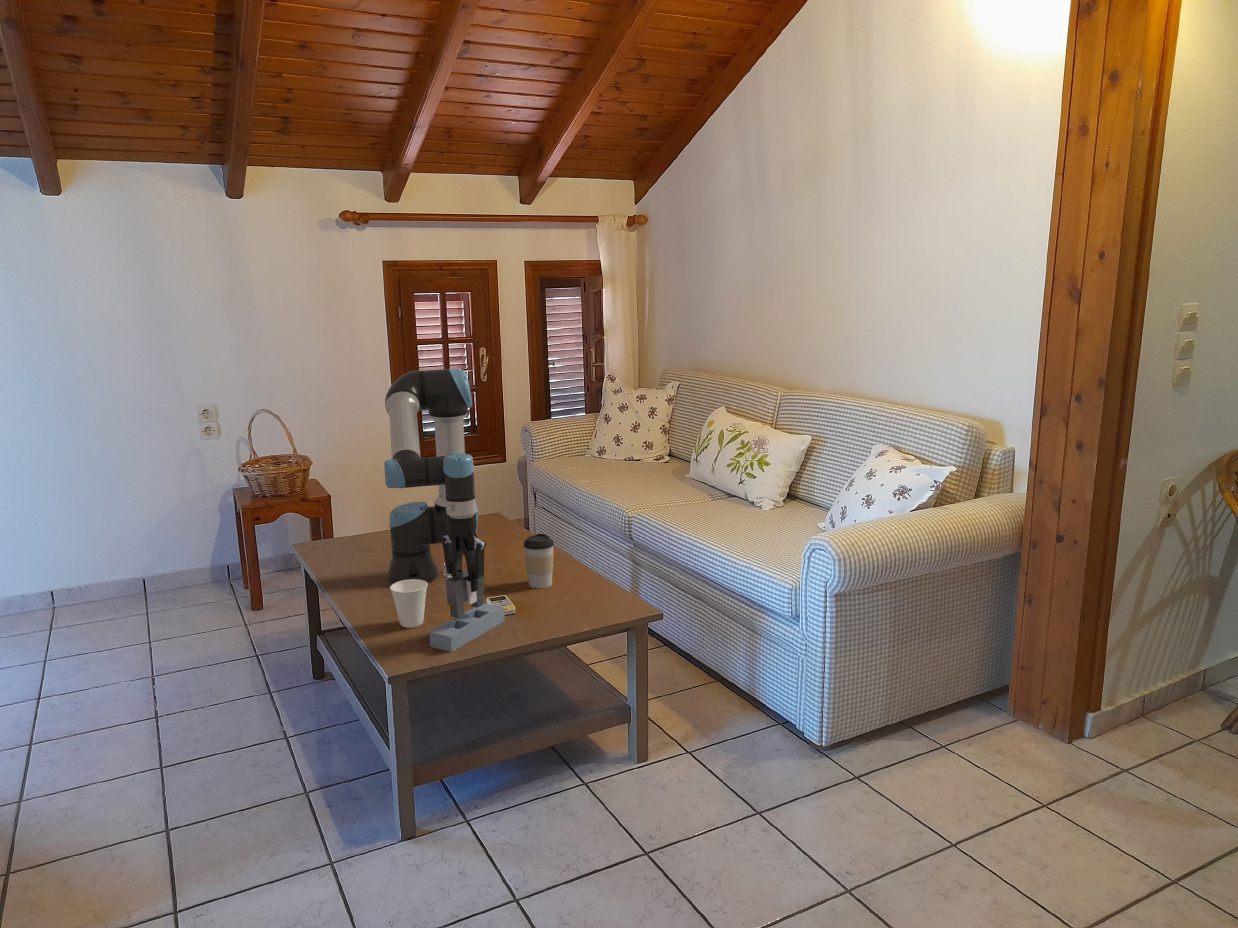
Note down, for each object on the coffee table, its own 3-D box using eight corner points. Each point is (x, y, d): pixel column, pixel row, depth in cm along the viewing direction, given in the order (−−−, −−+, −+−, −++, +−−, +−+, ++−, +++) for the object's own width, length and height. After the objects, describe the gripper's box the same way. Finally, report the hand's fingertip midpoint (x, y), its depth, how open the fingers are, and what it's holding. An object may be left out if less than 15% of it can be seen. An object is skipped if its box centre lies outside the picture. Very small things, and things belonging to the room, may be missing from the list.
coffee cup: (550, 590, 263) (548, 542, 259) (521, 588, 264) (519, 540, 261) (558, 579, 271) (557, 532, 268) (530, 578, 273) (528, 531, 270)
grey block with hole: (430, 646, 225) (429, 631, 224) (484, 616, 244) (483, 602, 243) (451, 651, 222) (450, 636, 221) (504, 621, 240) (504, 607, 240)
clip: (448, 617, 227) (445, 580, 225) (476, 602, 237) (474, 566, 235) (457, 619, 226) (455, 581, 224) (485, 604, 235) (483, 568, 233)
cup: (396, 617, 244) (393, 580, 242) (432, 615, 245) (429, 578, 243) (390, 632, 235) (386, 593, 232) (428, 630, 235) (425, 591, 233)
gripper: (427, 514, 226) (433, 601, 231) (477, 522, 219) (482, 611, 224) (446, 507, 233) (452, 591, 238) (495, 514, 225) (500, 601, 230)
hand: (466, 601), depth 231 cm, fingers closed on clip, 3 cm apart
